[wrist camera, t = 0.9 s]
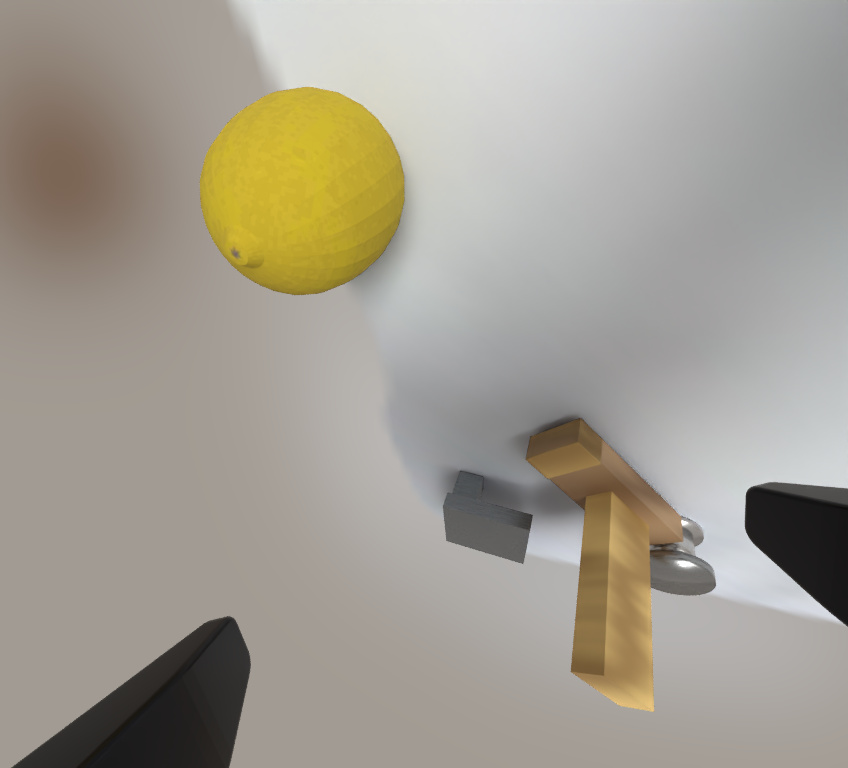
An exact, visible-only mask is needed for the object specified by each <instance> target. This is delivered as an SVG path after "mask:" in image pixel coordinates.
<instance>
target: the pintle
mask: <svg viewBox="0 0 848 768" xmlns="http://www.w3.org/2000/svg"><path fill="white" fill-rule="evenodd" d="M681 519H682V531H683V542H676V543H667V544H658V545H649V547H650V584H651V588H654V589H656V590H660V591H663V592H667V593H671V594H678V595H701V594H705V593H708V592H710V591H712V590H713V589H714V588H715V586H716V581H715V573H714V570H713V568H712V567H711V566H710V565H709V564H708V563H707V562H705V561H704V560H702V559H700V558H698V557H696V556H695V546H697V545H699V544H701V543H702V541H703V539H704V536H703V530H702V528H701V527H700V526H699V525H698V524H697V523H695V522H694V521H692V520H690V519H687V518H684V517H681Z"/></svg>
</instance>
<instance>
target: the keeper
mask: <svg viewBox="0 0 848 768" xmlns="http://www.w3.org/2000/svg"><path fill="white" fill-rule="evenodd" d="M482 490H483V476H479V475H475V474H471V473H467V472H462V471H460V473H459V476H458V479H457V482H456V485H455V488H454V491H453V494H451V493H448V494H447V497H446V500H445V502H444V505H443V511H444V521H445V530H446V540H447V541H449V542H452V543H455V544H459V545H462V546H465V547H469V548H472V549H475V550H479V551H482V552H485V553H489V554H492V555H495V556H499V557H502V558H505V559H509V560H512V561H515V562H519V563H522V564H523V562H524V558H525V553H526V548H527V543H528V538H529V533H530V528H531V522H532V516H533V515H531V514H527V513H523V512H520V511H516V510H512V509H508V508H504V507H501V506H497V505H493V504H489V503H485V502H482V501H480V497H481V494H482Z"/></svg>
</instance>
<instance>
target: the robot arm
mask: <svg viewBox="0 0 848 768" xmlns="http://www.w3.org/2000/svg"><path fill="white" fill-rule="evenodd" d="M745 529H746V533H747V535H748V537H749V538H750V540H751V541H752V542H753V543H754V544H755V545H756V546H757V547H758V548H759V549H760V550H761V551H762V552H763V553H764V554H765V555H767V556H768V557H769V558H770V559H771V560H772V561H773V562H774V563H775V564H777V565H778V566H779V567H780V568H781V569H782V570H783V571H784V572H785V573H786V574H788V575H789V576H790V577H791V578H792V579H793V580H794V581H795V582H796V583H797V584H799V585H800V586H801V587H802V588H803V589H804V590H805V591H806V592H807V593H809V594H810V595H811V596H812V597H813V598H814V599H815V600H816V601H817V602H819V603H820V604H821V605H822V606H823V607H824V608H826V609H827V610H828V611H829V612H830V613H831V614H833V615H834V616H835V617H836V618H838V619H839V620H840V621H841V622H843V623H844V624H845V625H846V626H848V489H847V488H835V487H824V486H813V485H801V484H790V483H778V482H769V483H765V484H761V485H757V486H753V487H751V488H749V489H748V491H747V493H746V505H745ZM250 666H251V663H250V655H249V651H248V649H247V646H246V644H245V641H244V639H243V637H242V634H241V632H240V630H239V627H238V624H237V623H236V621H235V619H234V618H232V617H230V616H227V617H223V618H219V619H215V620H211V621H208V622H206V623H204V624H203V625H202V626H200V627H199V628H197V629H196V630H195V631H193V632H192V633H191V634H189V635H188V636H187V637H185V638H184V639H183V640H181V641H180V642H179V643H177V644H176V645H175V646H174V647H172V648H171V649H169V650H168V651H167V652H165V653H164V654H163V655H161V656H160V657H159V658H157V659H156V660H155V661H153V662H152V663H151V664H149V665H148V666H147V667H145V668H144V669H143V670H141V671H140V672H139V673H137V674H136V675H135V676H133V677H132V678H130V679H129V680H128V681H127V682H125V683H124V684H123V685H121V686H120V687H118V688H117V689H116V690H114V691H113V692H112V693H110V694H109V695H108V696H106V697H105V698H104V699H103V700H101V701H100V702H98V703H97V704H96V705H94V706H93V707H92V708H90V709H89V710H88V711H87V712H85V713H84V714H83V715H81V716H80V717H78V718H77V719H76V720H74V721H73V722H72V723H70V724H69V725H68V726H66V727H65V728H64V729H62V730H61V731H60V732H58V733H57V734H56V735H54V736H53V737H52V738H50V739H49V740H48V741H46V742H45V743H44V744H42V745H41V746H40V747H38V748H37V749H36V750H34V751H33V752H32V753H30V754H29V755H28V756H26V757H25V758H24V759H22V760H21V761H20V762H18V763H17V764H16V765H14V766H13V767H12V768H229V766H230V762H231V758H232V753H233V749H234V744H235V739H236V735H237V730H238V725H239V721H240V716H241V712H242V707H243V702H244V698H245V693H246V688H247V684H248V679H249V674H250Z"/></svg>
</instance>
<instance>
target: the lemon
mask: <svg viewBox="0 0 848 768" xmlns="http://www.w3.org/2000/svg"><path fill="white" fill-rule="evenodd" d="M200 200H201V208H202V212H203V216H204V219H205V223H206V226H207V228H208V230H209V233H210V235H211V237H212V239H213V241H214V243H215V244H216V245H217V247H218V249H219V250H220V252H221V253H222V255H223V256H224V257H225V258H226V259H227V260H228V261H229V263H230V264H231V265H232V266H233V267H234V268H236V269H237V270H238V271H239V272H240V273H241V274H243V275H244V276H246V277H247V278H249V279H250V280H252V281H254V282H255V283H257V284H259V285H261V286H263V287H266V288H268V289H271V290H273V291H277V292H282V293H287V294H292V295H306V294H317V293H321V292H325V291H328V290H330V289H332V288H335V287H337V286H340V285H342V284H345V283H347V282H349V281H350V280H352V279H354V278H355V277H357V276H358V275H360V274H361V273H362V272H363V271H365V270H366V269H367V268H368V267H369V266H370V265H371V264H372V263H373V262H375V261H376V260H377V259H378V258H379V257H380V256H381V254H382V253H383V252H384V251H385V249H386V247H387V245H388V244H389V242H390V240H391V238H392V237H393V235H394V233H395V231H396V229H397V227H398V225H399V221H400V217H401V213H402V209H403V204H404V174H403V169H402V165H401V161H400V157H399V154H398V152H397V150H396V148H395V146H394V143H393V141H392V139H391V137H390V136H389V134H388V133H387V131H386V130H385V129H384V127H383V126H382V124H381V123H380V122H379V120H378V119H377V118H376V117H375V116H374V115H372V114H371V113H370V112H369V111H368V110H367V109H366V108H365V107H363V106H362V105H361V104H359V103H357V102H355V101H353V100H351V99H350V98H348V97H346V96H344V95H342V94H340V93H338V92H333V91H328V90H323V89H318V88H314V87H302V88H296V89H289V90H283V91H277V92H274V93H271V94H268V95H266V96H264V97H262V98H261V99H259V100H258V101H256V102H254V103H253V104H251V105H249V106H248V107H246V108H244V109H243V110H242V111H240V112H239V113H238V114H236V115H235V116H234V117H233V118H232V119H231V120H230V121H229V122H228V123H227V125H226V126H225V127H224V128H223V130H222V131H221V132H220V134H219V136H218V137H217V138H216V139H215V141H214V142H213V144H212V145H211V146H210V148H209V150H208V152H207V154H206V157H205V161H204V165H203V169H202V173H201V178H200Z"/></svg>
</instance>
